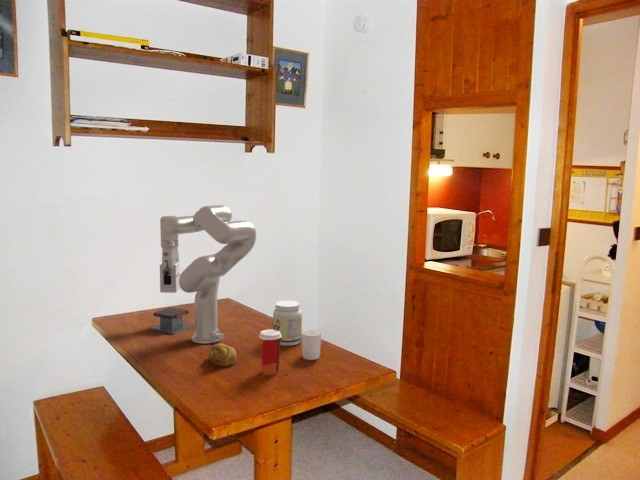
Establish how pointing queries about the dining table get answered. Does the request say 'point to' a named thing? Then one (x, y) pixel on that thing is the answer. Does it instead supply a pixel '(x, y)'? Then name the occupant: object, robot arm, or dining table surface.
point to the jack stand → (171, 321)
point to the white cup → (311, 344)
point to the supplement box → (174, 280)
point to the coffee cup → (270, 351)
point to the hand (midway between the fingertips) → (170, 282)
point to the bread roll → (222, 355)
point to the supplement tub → (288, 322)
